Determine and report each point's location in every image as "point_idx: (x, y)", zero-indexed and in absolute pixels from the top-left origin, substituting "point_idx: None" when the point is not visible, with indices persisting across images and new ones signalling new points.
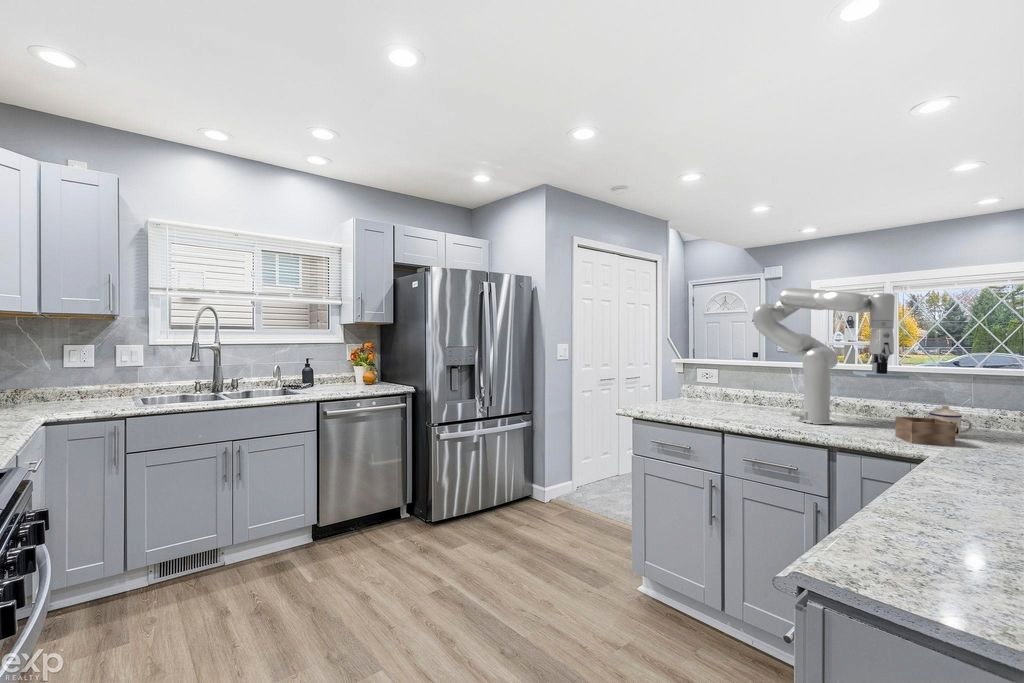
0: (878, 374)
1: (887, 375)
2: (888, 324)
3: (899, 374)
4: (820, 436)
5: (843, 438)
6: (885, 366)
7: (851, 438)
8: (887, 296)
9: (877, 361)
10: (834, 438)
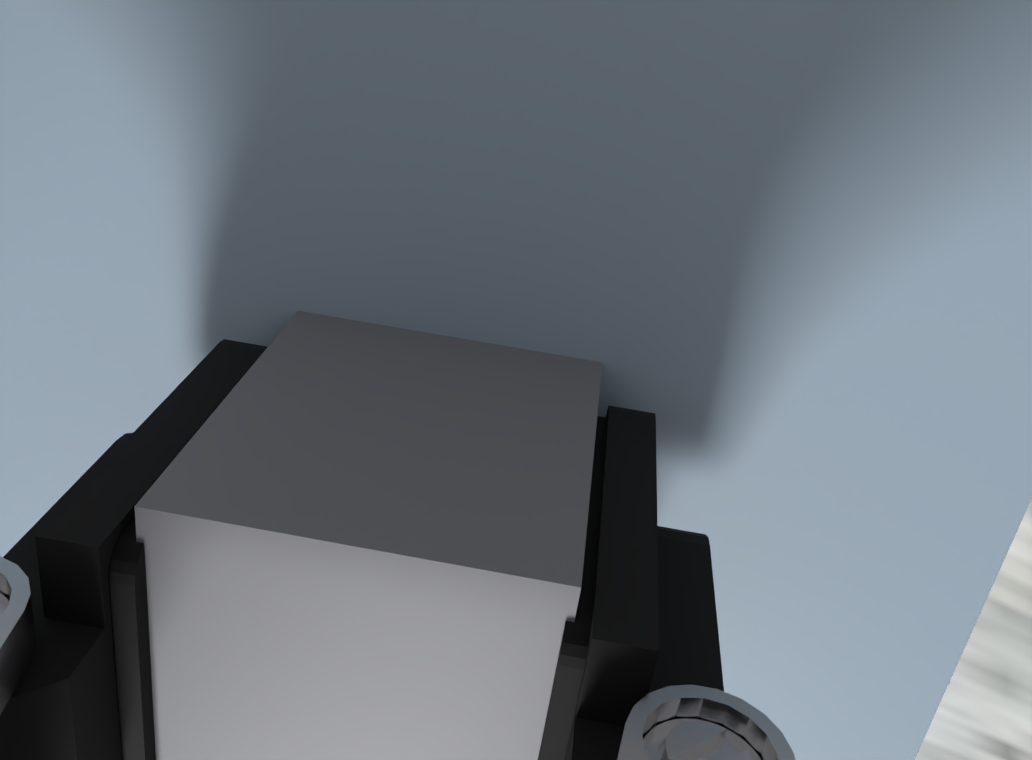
0: (911, 733)
1: (995, 553)
2: None
3: (731, 15)
4: (931, 755)
5: (1012, 638)
6: (711, 630)
7: (1011, 578)
8: None
9: (103, 733)
10: (1012, 700)
